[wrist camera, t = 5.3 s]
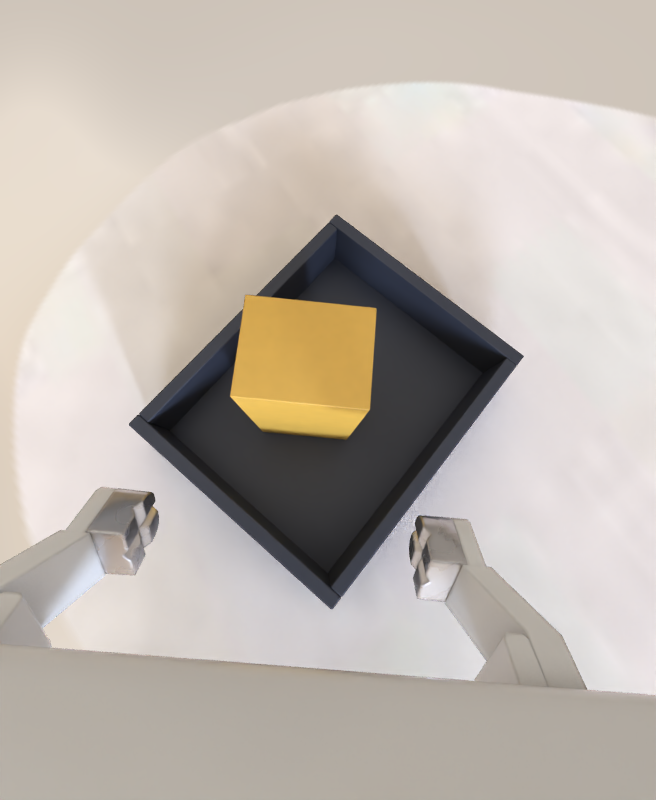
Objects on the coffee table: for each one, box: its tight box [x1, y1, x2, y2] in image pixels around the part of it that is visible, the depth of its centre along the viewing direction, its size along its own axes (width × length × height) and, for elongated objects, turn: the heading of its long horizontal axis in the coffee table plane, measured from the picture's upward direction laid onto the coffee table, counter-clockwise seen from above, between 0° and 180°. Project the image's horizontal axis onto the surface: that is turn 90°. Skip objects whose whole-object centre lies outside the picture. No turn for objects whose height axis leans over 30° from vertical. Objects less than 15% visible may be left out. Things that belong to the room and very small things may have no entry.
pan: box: [129, 215, 524, 609], centre depth 21 cm, size 16×13×4 cm
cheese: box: [230, 295, 377, 440], centre depth 18 cm, size 5×4×9 cm
